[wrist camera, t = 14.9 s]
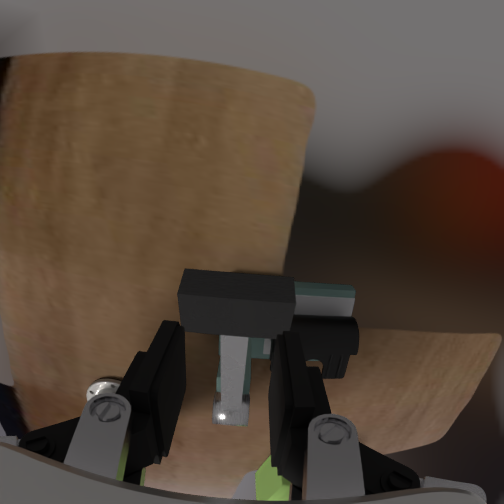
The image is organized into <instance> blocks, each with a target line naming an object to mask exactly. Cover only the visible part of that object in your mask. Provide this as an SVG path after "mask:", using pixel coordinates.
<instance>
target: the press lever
mask: <svg viewBox="0 0 504 504" xmlns="http://www.w3.org/2000/svg"><path fill="white" fill-rule="evenodd" d="M177 295H178V304H179V312H180V320H181V326H184V329H185V331H186V332H195V333H205V334H215V335H221V392H217V391H215V395H214V402H213V415H212V423H213V424H222V425H233V426H248V418H249V404H250V394H242V393H243V384H244V375H245V365H246V356H247V347H248V337H251V338H265V339H276V338H277V334H281V335H282V333H283V331H290V327H291V323H292V319H293V315H294V311H295V306H296V295H295V284H294V277H283V276H270V275H257V274H244V273H232V272H220V271H208V270H197V269H185V270H184V273H183V276H182V280H181V283H180V286H179V290H178V293H177Z"/></svg>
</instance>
